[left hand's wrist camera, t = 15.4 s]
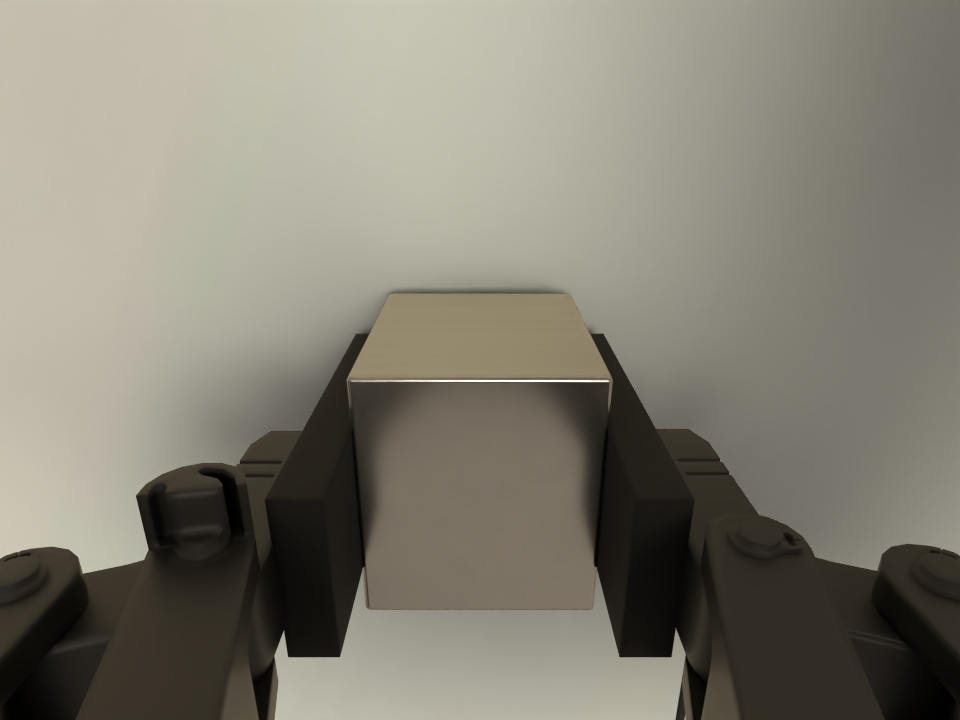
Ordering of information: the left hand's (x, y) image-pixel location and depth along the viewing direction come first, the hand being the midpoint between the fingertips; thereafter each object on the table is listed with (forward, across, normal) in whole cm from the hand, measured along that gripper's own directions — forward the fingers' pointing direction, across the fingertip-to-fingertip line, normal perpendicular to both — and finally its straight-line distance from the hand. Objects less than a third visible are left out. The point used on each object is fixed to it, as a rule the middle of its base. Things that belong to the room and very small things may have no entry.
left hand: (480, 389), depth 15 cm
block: (0, 0, 0) cm, 0 cm away
